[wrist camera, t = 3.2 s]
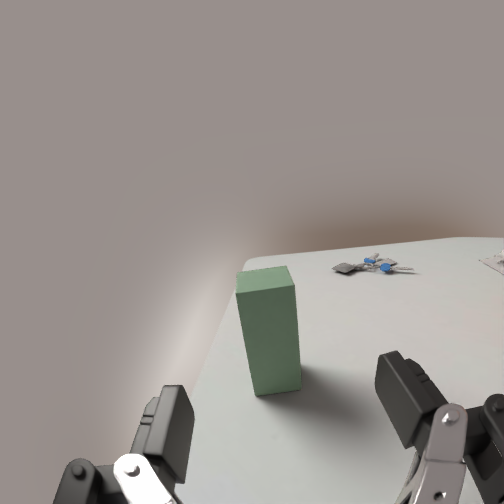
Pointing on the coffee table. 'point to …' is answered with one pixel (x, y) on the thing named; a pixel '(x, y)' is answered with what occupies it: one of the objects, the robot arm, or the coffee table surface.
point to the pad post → (270, 329)
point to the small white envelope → (496, 262)
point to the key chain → (384, 265)
